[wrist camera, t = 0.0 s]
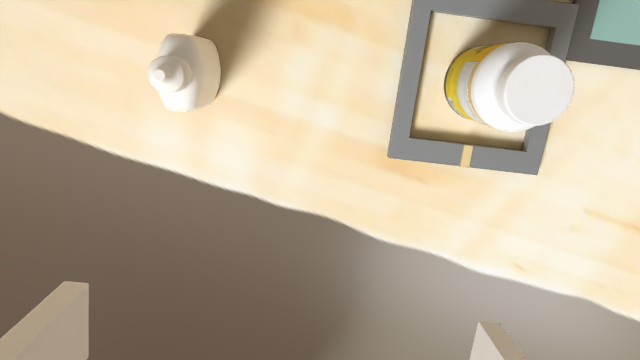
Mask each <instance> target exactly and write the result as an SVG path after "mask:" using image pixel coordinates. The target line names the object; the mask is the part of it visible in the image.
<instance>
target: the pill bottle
mask: <svg viewBox="0 0 640 360" xmlns="http://www.w3.org/2000/svg"><path fill="white" fill-rule="evenodd" d="M444 94H445V97H446V100H447V102H448V104H449V105H450V107H451V108H452V109H453V110H454V111H455V112H456V113H457V114H459V115H460V116H462V117H464V118H466V119H469V120H473V121H476V122H478V123H481V124H484V125H487V126H490V127H492V128H495V129H498V130H501V131H507V132H518V131H523V130H527V129H530V128H532V127H534V126H539V125H544V124H547V123H550V122H552V121H554V120H555V119H557V118H558V117H559V116H560V115H562V114H563V112H564V111H565V110H566V109H567V107H568V106H569V104H570V102H571V100H572V97H573V94H574V78H573V75H572V72H571V70H570V69H569V67H568V66H567V64H566V63H565V62H563V61H562V60H561V59H559V58H557V57H555V56H552V55H551V54H550V53H548V52H547V51H546V50H545V49H543V48H541V47H540V46H537V45H535V44H531V43H525V42H516V43H507V44H497V45H487V46H479V47H474V48H471V49H468V50H466V51H464V52H462V53H461V54H460V55H458V56H457V57H456V58H455V59H454V60H453V62H452V63H451V64H450V66H449V68H448V69H447V72H446V75H445V78H444Z"/></svg>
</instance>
